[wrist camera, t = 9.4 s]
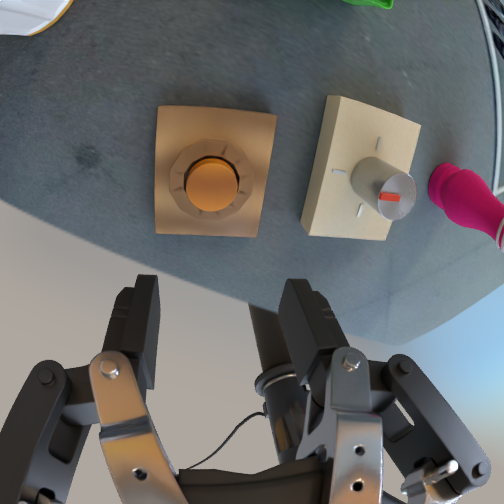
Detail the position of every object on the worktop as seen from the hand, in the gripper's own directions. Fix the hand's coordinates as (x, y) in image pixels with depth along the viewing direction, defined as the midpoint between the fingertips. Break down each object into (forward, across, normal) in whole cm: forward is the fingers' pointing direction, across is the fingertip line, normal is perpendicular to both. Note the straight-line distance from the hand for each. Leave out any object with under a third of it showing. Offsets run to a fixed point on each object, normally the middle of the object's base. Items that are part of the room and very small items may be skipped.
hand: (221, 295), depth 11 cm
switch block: (+17, 0, 0) cm, 17 cm away
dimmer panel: (+17, -15, -2) cm, 23 cm away
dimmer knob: (+14, -15, -2) cm, 21 cm away
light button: (+14, 0, 0) cm, 14 cm away
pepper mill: (+18, -30, -3) cm, 35 cm away
